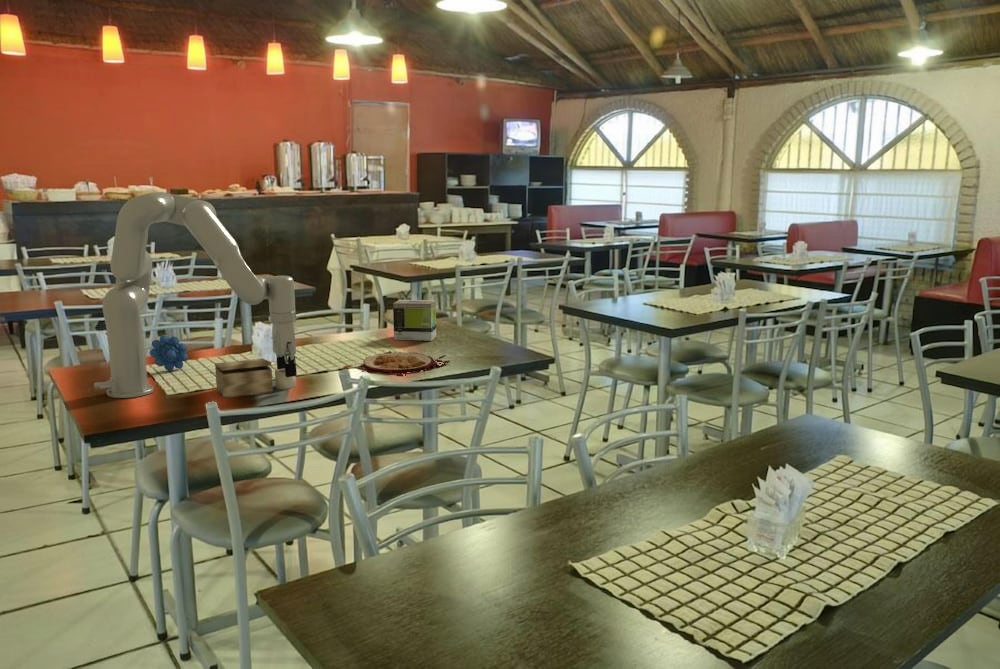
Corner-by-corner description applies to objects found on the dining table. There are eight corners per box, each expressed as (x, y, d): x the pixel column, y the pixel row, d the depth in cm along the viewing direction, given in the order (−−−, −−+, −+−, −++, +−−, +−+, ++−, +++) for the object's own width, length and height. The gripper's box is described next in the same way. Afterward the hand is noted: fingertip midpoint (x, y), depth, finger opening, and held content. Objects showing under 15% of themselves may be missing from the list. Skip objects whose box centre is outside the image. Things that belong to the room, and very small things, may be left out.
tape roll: (278, 390, 244) (277, 373, 243) (273, 385, 249) (272, 369, 248) (298, 387, 247) (297, 371, 246) (292, 383, 252) (292, 367, 251)
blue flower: (154, 375, 259) (151, 338, 257) (149, 371, 265) (146, 335, 263) (192, 371, 266) (189, 334, 263) (187, 366, 271) (184, 331, 269)
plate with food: (390, 356, 292) (389, 346, 291) (450, 364, 278) (449, 354, 277) (342, 371, 272) (341, 361, 271) (404, 380, 258) (404, 369, 257)
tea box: (436, 336, 323) (436, 299, 320) (431, 341, 313) (431, 303, 310) (399, 335, 325) (399, 298, 322) (393, 340, 315) (392, 302, 312)
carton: (223, 398, 235) (222, 374, 234) (216, 389, 244) (215, 366, 243) (272, 392, 242) (271, 369, 240) (264, 383, 251) (262, 361, 250)
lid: (222, 370, 233) (221, 367, 233) (215, 365, 243) (215, 363, 243) (271, 365, 240) (271, 362, 240) (262, 360, 250) (262, 358, 249)
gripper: (263, 314, 249) (267, 368, 253) (277, 323, 234) (281, 381, 238) (288, 311, 253) (291, 365, 256) (303, 320, 238) (307, 377, 241)
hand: (286, 372), depth 247 cm, fingers open, 9 cm apart
